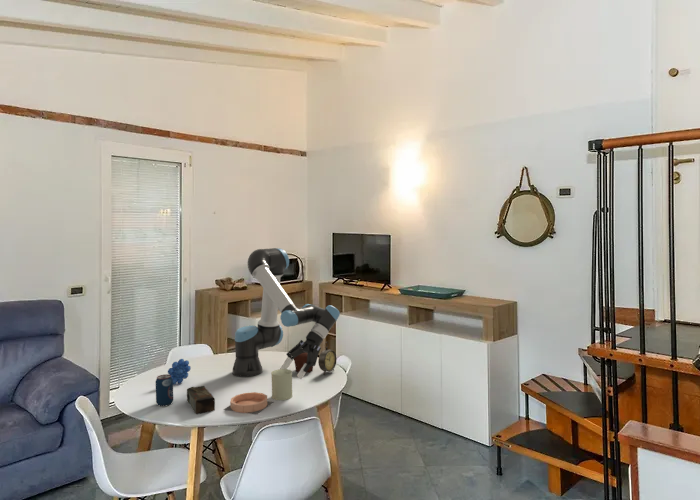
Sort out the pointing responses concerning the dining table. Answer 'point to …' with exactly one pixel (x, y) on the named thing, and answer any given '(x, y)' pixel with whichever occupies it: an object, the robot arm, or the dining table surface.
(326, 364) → the alarm clock
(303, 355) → the muffin
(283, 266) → the robot arm
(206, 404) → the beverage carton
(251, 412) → the mat
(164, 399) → the soda can
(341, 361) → the dining table surface
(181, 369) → the grapes
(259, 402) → the bowl
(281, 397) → the can
